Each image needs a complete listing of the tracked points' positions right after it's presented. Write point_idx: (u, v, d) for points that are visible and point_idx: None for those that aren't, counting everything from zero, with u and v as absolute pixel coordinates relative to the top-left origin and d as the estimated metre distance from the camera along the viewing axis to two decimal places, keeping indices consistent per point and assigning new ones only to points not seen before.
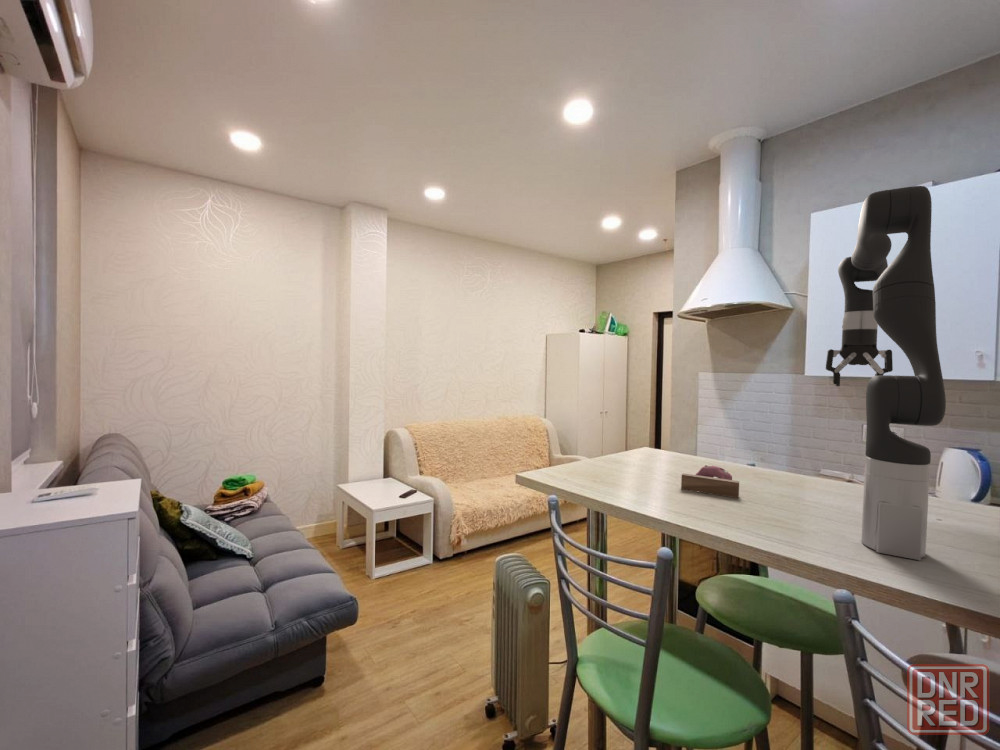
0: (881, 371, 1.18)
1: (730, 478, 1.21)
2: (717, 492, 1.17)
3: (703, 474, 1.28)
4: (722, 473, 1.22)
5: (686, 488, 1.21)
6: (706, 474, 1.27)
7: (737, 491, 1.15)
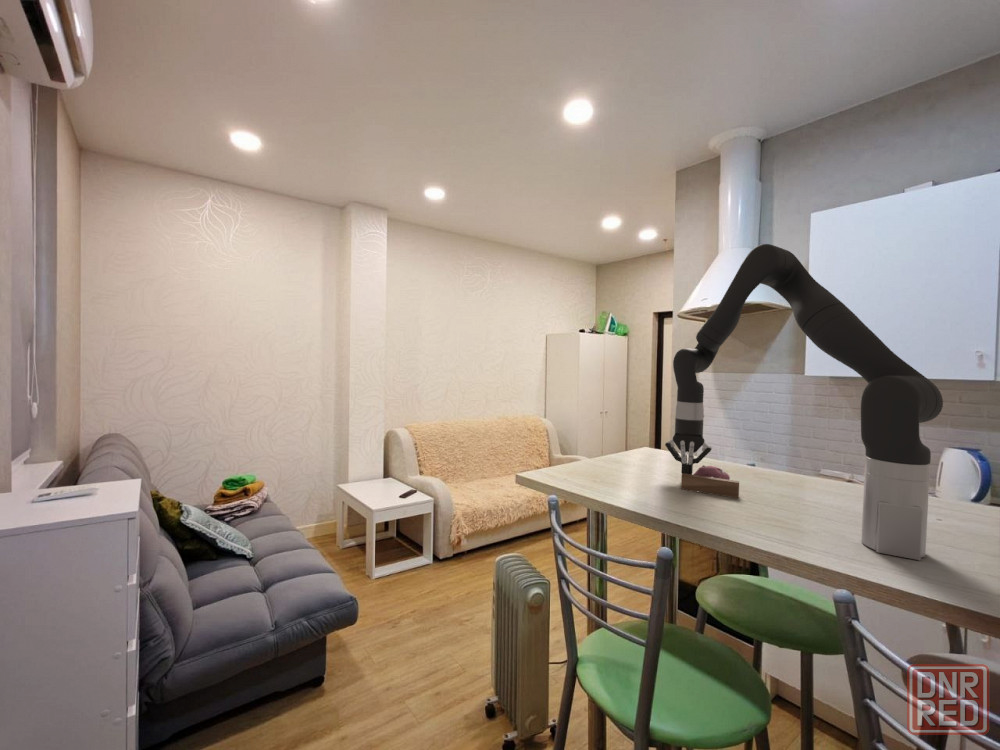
0: (690, 462, 1.27)
1: (727, 478, 1.21)
2: (717, 492, 1.17)
3: (700, 474, 1.27)
4: (719, 473, 1.22)
5: (686, 488, 1.21)
6: (703, 474, 1.27)
7: (737, 491, 1.15)
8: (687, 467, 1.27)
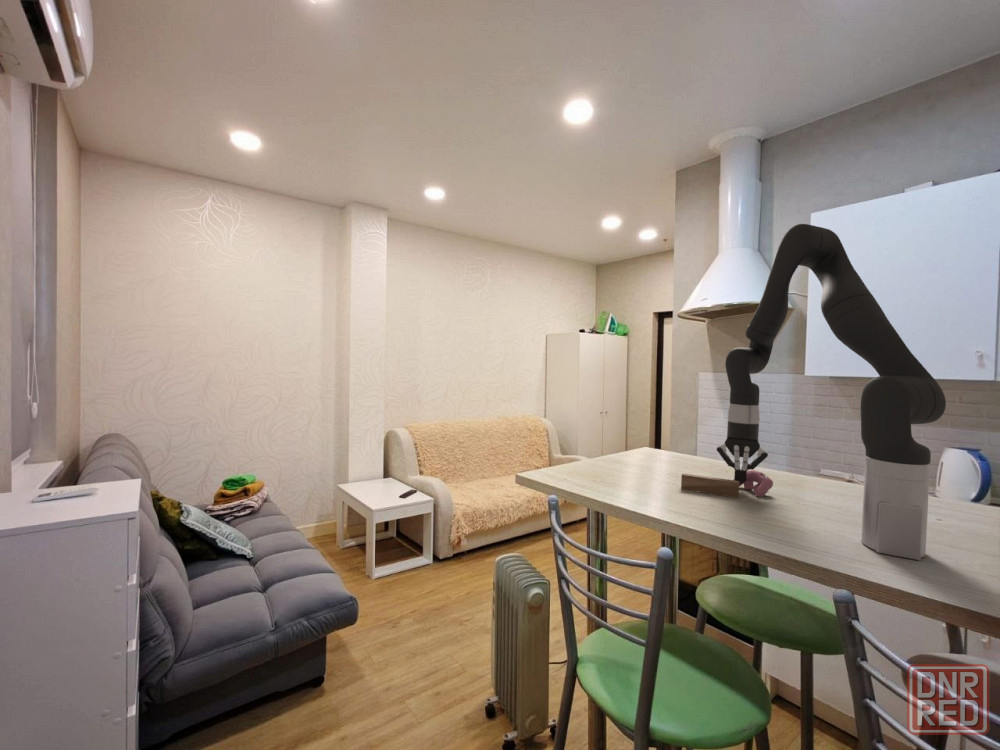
0: (744, 468, 1.20)
1: (771, 483, 1.17)
2: (717, 492, 1.17)
3: None
4: (762, 478, 1.18)
5: (686, 488, 1.21)
6: None
7: (737, 491, 1.15)
8: (741, 473, 1.20)
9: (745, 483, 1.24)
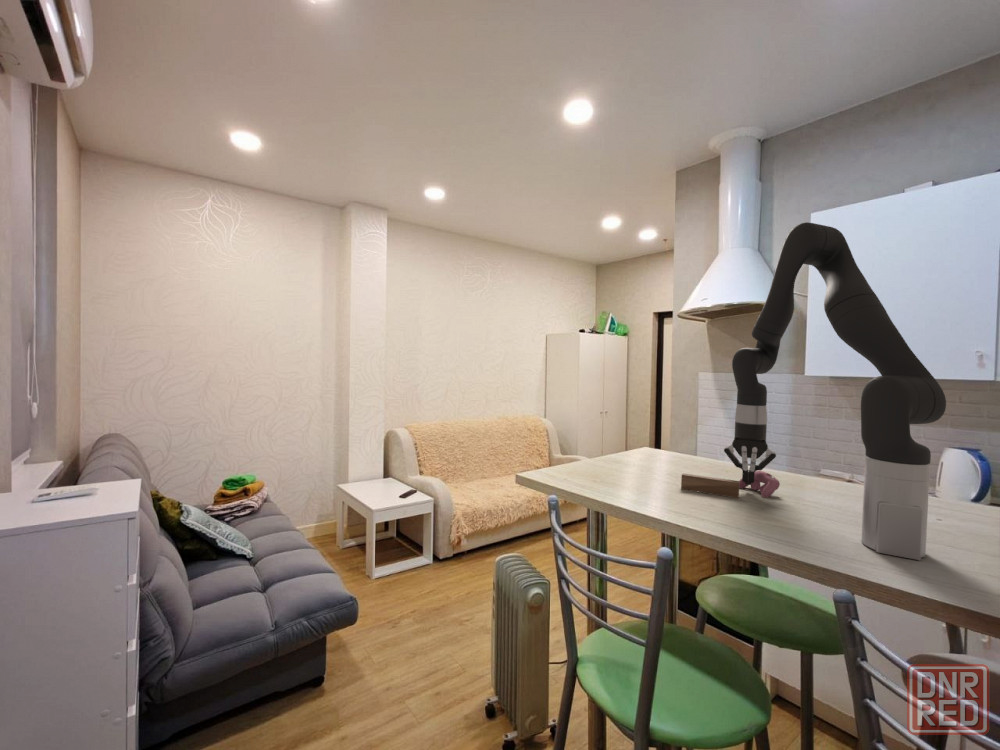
0: (752, 469, 1.19)
1: (777, 484, 1.17)
2: (717, 492, 1.17)
3: None
4: (768, 479, 1.18)
5: (686, 488, 1.21)
6: None
7: (737, 491, 1.15)
8: (749, 474, 1.20)
9: (752, 483, 1.23)
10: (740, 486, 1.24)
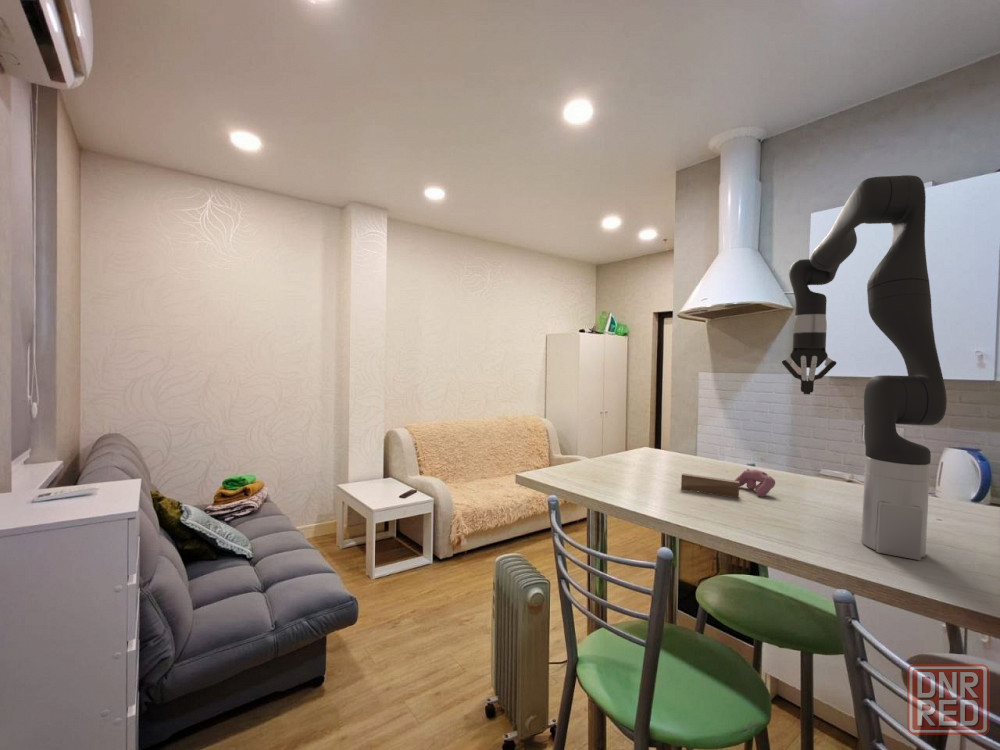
0: (812, 378, 1.21)
1: (773, 483, 1.17)
2: (717, 492, 1.17)
3: (745, 478, 1.24)
4: (764, 477, 1.18)
5: (686, 488, 1.21)
6: (748, 478, 1.24)
7: (737, 491, 1.15)
8: (808, 384, 1.21)
9: (748, 482, 1.24)
10: None
